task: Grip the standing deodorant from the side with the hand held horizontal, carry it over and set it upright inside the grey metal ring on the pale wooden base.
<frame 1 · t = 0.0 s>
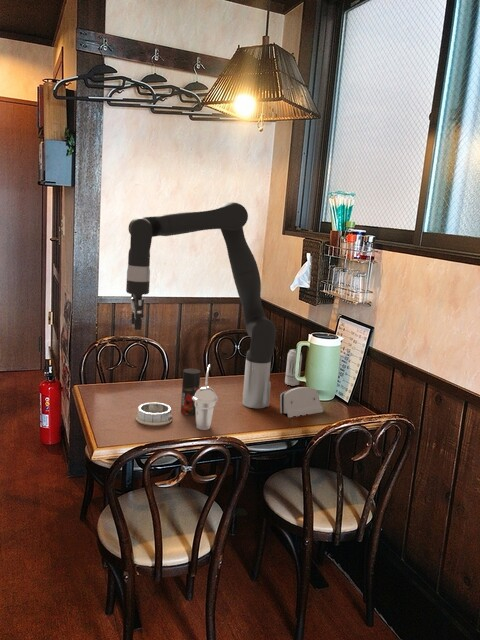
hand: (136, 326, 183), 29 cm above the table, tool pointing down, fingers open, 8 cm apart
hinge: (299, 412, 200), on the table
deodorant: (189, 412, 190), on the table
energy drink can: (291, 385, 229), on the table
ring holder: (154, 418, 181), on the table
cup with straw: (203, 427, 178), on the table
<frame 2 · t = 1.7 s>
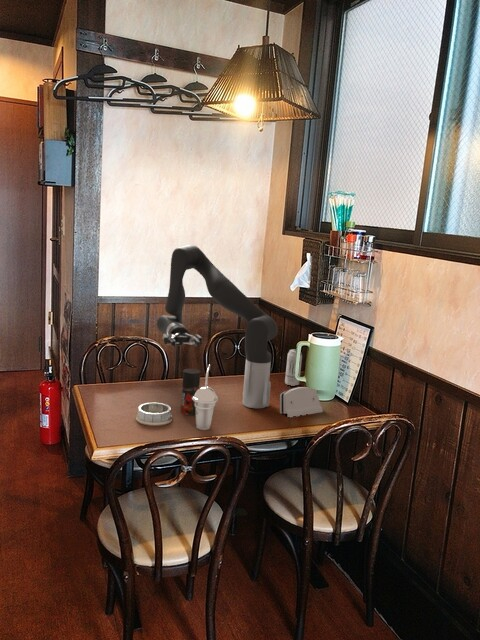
hand: (186, 344, 196), 22 cm above the table, tool horizontal, fingers open, 8 cm apart
nothing on the table moved.
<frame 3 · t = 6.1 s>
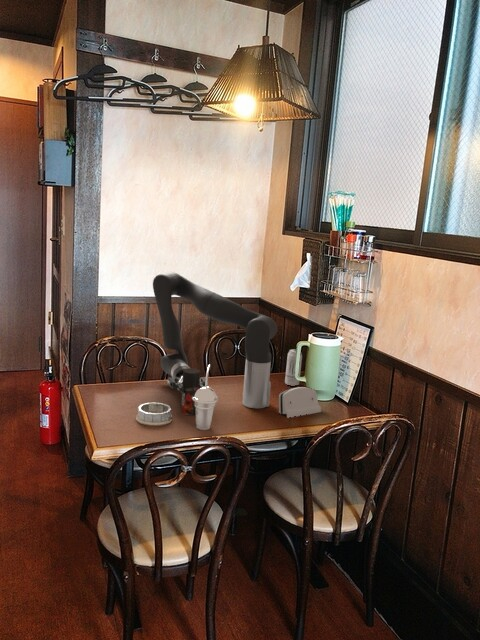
hand: (192, 389, 186), 9 cm above the table, tool horizontal, fingers closed on deodorant, 6 cm apart
deodorant: (189, 412, 190), on the table, touching gripper
everything else where it was.
when the fingers open (11 cm above the table, at t = 10.6 s): deodorant drops 1 cm, resting on ring holder.
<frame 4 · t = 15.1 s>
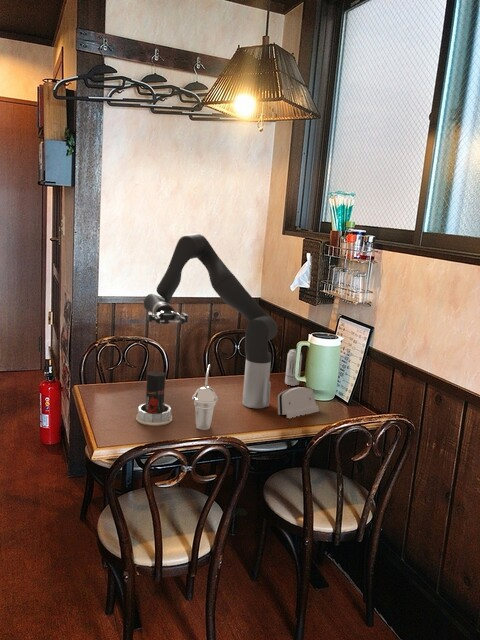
hand: (171, 321, 192), 30 cm above the table, tool horizontal, fingers open, 8 cm apart
deodorant: (154, 416, 181), point 1 cm above the table, touching ring holder
at the end: deodorant 0.2 cm off-centre on the ring holder, point 0.6 cm above the ring holder's base; deodorant tilted 0°; the gripper is holding nothing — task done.
